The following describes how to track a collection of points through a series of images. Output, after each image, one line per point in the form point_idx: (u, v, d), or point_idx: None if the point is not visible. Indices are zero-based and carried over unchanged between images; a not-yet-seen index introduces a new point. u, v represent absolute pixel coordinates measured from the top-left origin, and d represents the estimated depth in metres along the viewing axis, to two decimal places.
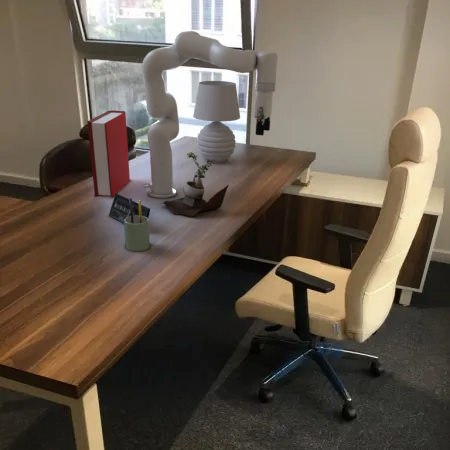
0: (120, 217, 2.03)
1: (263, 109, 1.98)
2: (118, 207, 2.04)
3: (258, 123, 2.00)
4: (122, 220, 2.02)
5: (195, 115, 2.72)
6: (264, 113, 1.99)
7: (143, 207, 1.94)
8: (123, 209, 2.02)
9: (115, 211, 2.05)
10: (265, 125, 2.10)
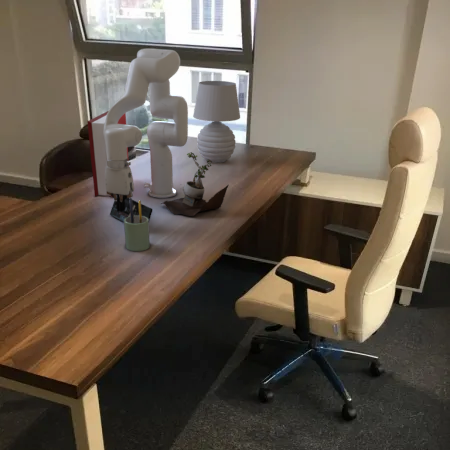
0: (121, 217, 2.02)
1: None
2: None
3: None
4: (123, 220, 2.01)
5: (195, 115, 2.72)
6: None
7: (145, 207, 1.94)
8: (124, 209, 2.02)
9: (116, 210, 2.05)
10: None
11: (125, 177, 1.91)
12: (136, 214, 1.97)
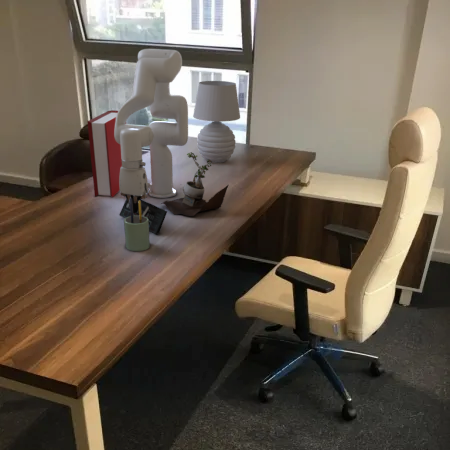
0: None
1: None
2: None
3: None
4: None
5: (195, 115, 2.72)
6: None
7: (159, 209, 1.93)
8: None
9: (127, 211, 2.03)
10: None
11: (139, 178, 1.89)
12: (149, 216, 1.96)
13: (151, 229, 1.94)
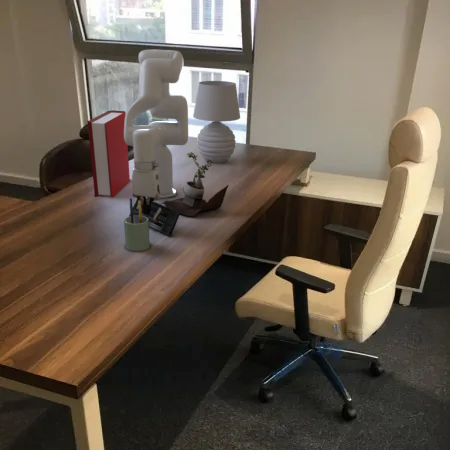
0: None
1: None
2: (141, 209, 2.01)
3: None
4: None
5: (195, 115, 2.72)
6: None
7: (172, 211, 1.92)
8: None
9: (137, 213, 2.01)
10: None
11: (152, 179, 1.87)
12: (161, 217, 1.95)
13: (163, 231, 1.92)
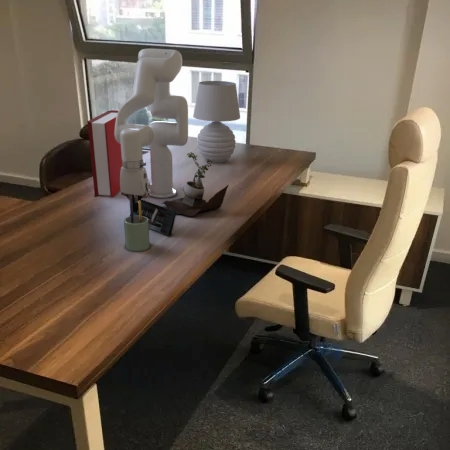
0: None
1: None
2: None
3: None
4: None
5: (195, 115, 2.72)
6: None
7: (168, 210, 1.92)
8: (145, 213, 1.99)
9: (136, 215, 2.02)
10: None
11: (140, 178, 1.90)
12: (159, 218, 1.95)
13: (163, 231, 1.93)
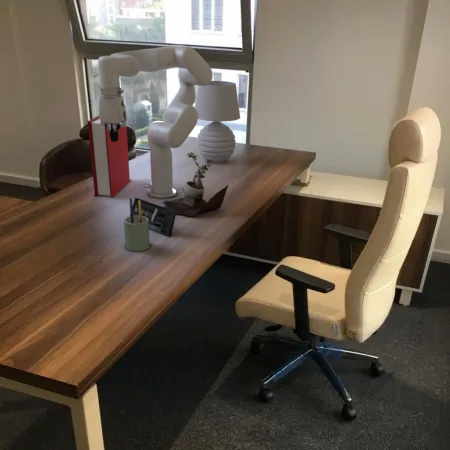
0: None
1: None
2: None
3: None
4: None
5: None
6: None
7: (168, 210, 1.92)
8: (145, 213, 1.99)
9: (136, 215, 2.02)
10: None
11: (118, 105, 1.96)
12: (159, 218, 1.95)
13: (163, 231, 1.93)
